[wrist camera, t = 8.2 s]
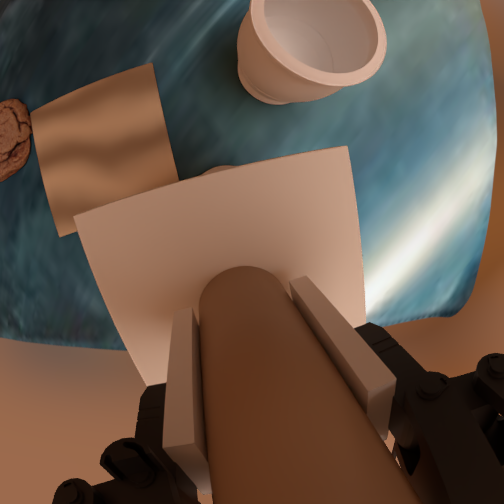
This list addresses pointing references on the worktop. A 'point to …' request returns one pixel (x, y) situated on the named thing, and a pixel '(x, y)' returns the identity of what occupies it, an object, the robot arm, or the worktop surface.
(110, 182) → the cloth
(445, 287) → the worktop surface
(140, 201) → the lid
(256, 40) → the jar
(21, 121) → the cookie
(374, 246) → the worktop surface
